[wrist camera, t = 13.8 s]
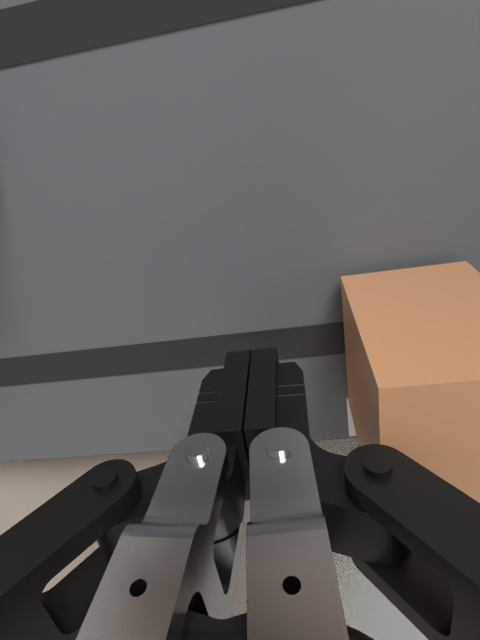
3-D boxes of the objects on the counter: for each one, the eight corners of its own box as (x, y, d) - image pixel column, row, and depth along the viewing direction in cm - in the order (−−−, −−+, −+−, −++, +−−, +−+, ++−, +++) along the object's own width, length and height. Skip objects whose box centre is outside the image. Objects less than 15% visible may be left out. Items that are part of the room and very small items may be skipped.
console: (819, -404, 8) (1020, -590, 6) (607, 375, 17) (658, 419, 15) (-299, -64, 13) (-427, -99, 10) (-18, 426, 21) (-54, 467, 19)
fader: (466, 260, 12) (590, 371, 7) (456, 393, 15) (547, 546, 10) (340, 276, 13) (378, 389, 8) (348, 401, 15) (382, 550, 10)
